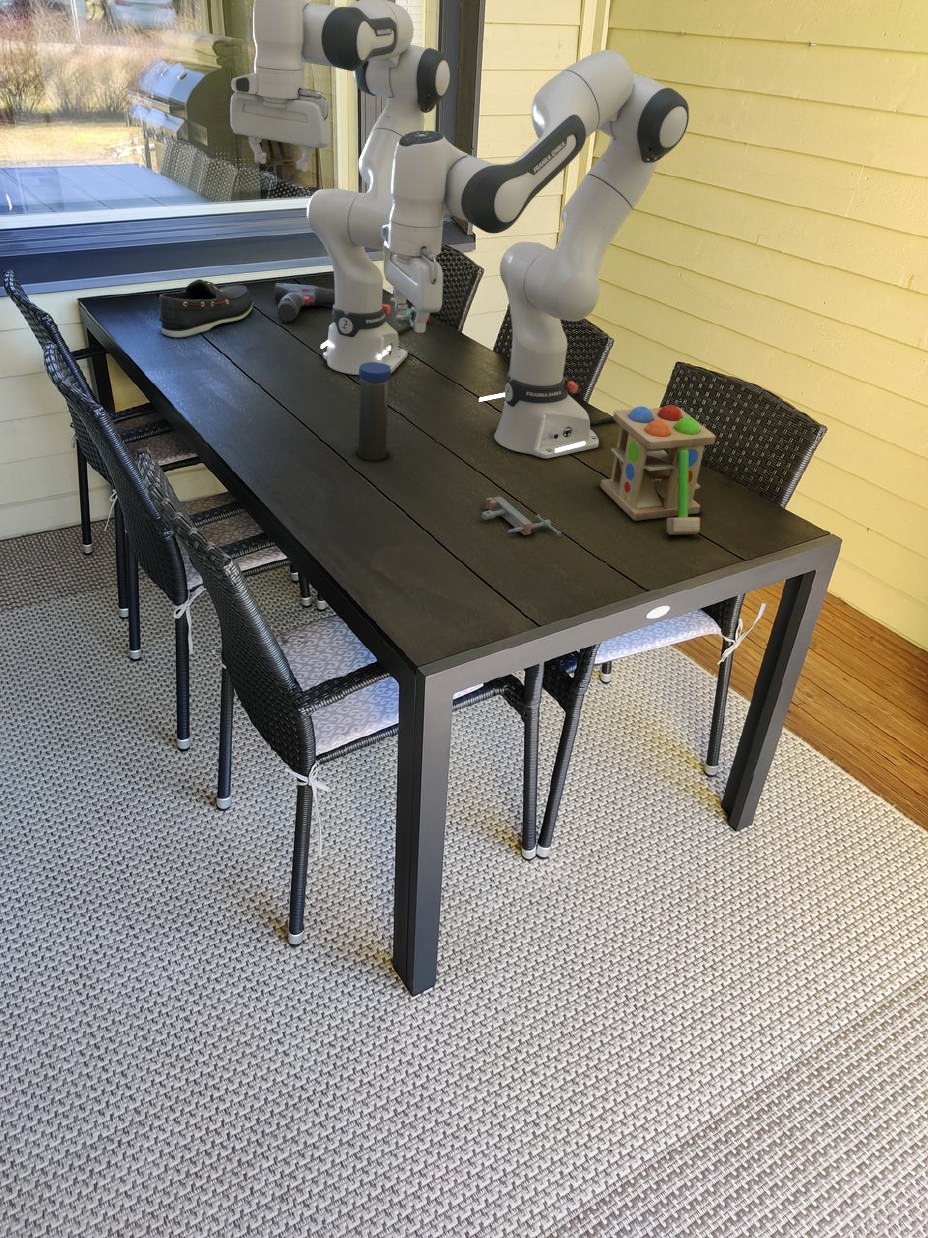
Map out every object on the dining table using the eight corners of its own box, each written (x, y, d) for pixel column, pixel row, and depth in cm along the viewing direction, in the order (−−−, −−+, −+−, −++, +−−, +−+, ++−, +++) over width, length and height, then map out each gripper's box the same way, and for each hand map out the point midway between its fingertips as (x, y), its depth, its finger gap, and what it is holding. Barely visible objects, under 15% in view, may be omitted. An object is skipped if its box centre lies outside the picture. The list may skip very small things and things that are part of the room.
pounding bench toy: (723, 535, 180) (747, 445, 170) (656, 543, 176) (676, 451, 166) (661, 480, 198) (680, 395, 188) (598, 486, 193) (614, 400, 183)
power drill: (335, 306, 256) (344, 285, 273) (264, 300, 255) (277, 279, 272) (335, 327, 259) (344, 304, 276) (264, 320, 258) (277, 299, 275)
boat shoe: (271, 314, 265) (269, 274, 259) (179, 339, 241) (175, 296, 235) (235, 305, 270) (233, 266, 265) (143, 329, 246) (138, 287, 241)
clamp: (472, 500, 179) (518, 491, 183) (471, 511, 180) (516, 501, 185) (516, 538, 168) (563, 528, 173) (514, 550, 170) (562, 539, 174)
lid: (389, 384, 185) (390, 374, 184) (357, 381, 185) (357, 372, 184) (391, 372, 190) (391, 363, 189) (360, 370, 190) (360, 360, 189)
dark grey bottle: (385, 461, 195) (388, 376, 185) (357, 459, 194) (359, 373, 184) (386, 450, 199) (389, 365, 189) (359, 448, 199) (361, 363, 189)
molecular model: (427, 319, 259) (415, 282, 258) (396, 332, 263) (384, 296, 261) (442, 321, 269) (430, 285, 268) (412, 333, 273) (400, 298, 272)
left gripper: (337, 91, 179) (336, 173, 186) (244, 76, 185) (247, 156, 193) (319, 93, 174) (319, 177, 182) (223, 78, 180) (227, 160, 188)
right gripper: (455, 256, 156) (448, 341, 164) (412, 224, 171) (407, 304, 179) (418, 256, 154) (412, 343, 162) (378, 224, 169) (374, 305, 177)
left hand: (281, 166), depth 187 cm, fingers open, 8 cm apart
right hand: (409, 322), depth 170 cm, fingers open, 8 cm apart
